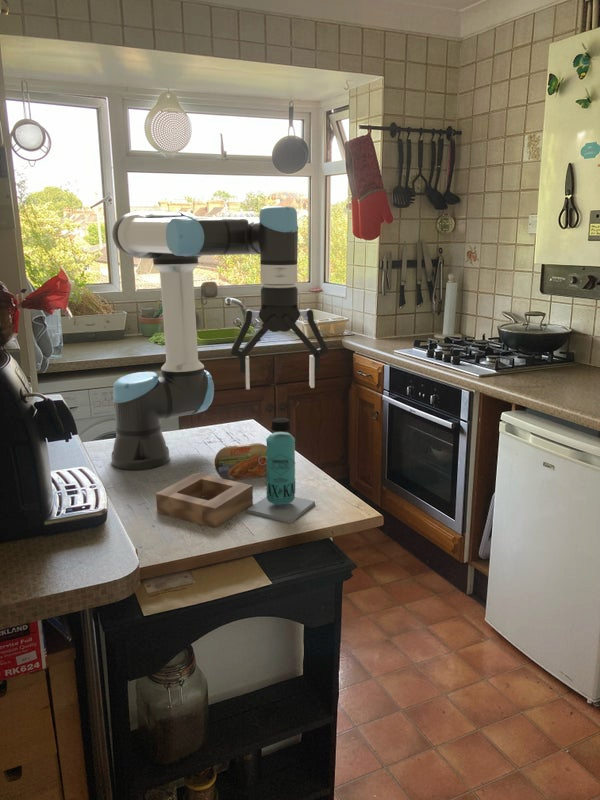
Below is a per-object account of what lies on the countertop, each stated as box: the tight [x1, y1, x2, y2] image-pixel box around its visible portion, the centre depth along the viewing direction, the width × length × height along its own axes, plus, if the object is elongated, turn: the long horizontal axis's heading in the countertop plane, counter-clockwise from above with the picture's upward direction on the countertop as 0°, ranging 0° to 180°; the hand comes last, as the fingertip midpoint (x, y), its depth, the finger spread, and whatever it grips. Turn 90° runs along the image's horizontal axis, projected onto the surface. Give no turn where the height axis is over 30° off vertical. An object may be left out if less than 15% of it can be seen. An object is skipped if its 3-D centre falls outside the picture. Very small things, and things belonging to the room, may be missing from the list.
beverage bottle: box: [265, 417, 296, 504], centre depth 139 cm, size 6×7×20 cm
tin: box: [214, 442, 267, 481], centre depth 159 cm, size 15×3×8 cm, turn 105°
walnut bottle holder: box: [155, 472, 254, 529], centre depth 141 cm, size 16×14×4 cm
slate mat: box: [246, 495, 316, 524], centre depth 141 cm, size 11×11×1 cm
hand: (279, 387), depth 134 cm, fingers open, 13 cm apart
